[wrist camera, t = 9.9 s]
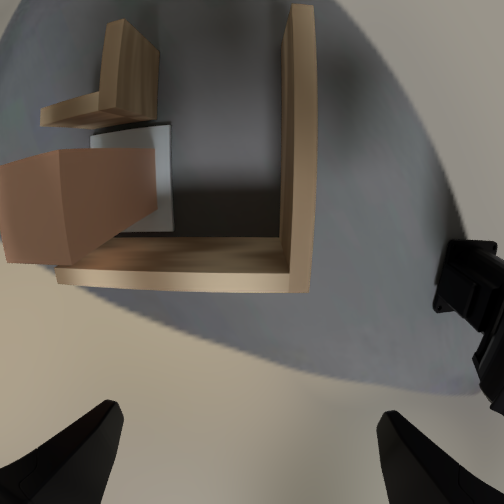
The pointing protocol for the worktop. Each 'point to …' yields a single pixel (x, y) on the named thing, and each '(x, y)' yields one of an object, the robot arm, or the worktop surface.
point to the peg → (73, 201)
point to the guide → (159, 138)
